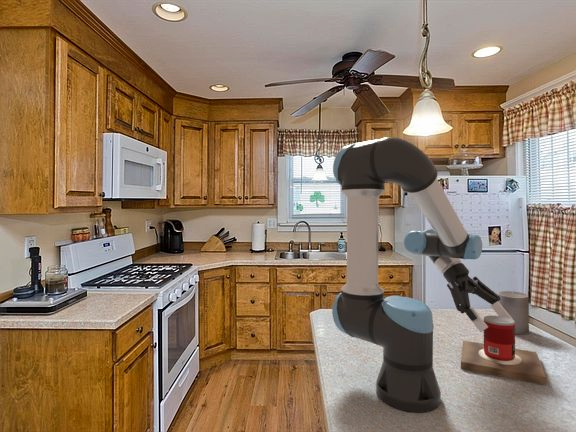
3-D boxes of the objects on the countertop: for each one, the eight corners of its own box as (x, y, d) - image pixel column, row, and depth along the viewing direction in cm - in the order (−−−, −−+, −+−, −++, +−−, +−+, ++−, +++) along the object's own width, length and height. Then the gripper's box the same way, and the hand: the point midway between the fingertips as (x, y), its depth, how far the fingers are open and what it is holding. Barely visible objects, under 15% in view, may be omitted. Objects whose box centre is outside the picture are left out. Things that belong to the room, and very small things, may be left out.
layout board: (460, 368, 100) (460, 360, 100) (463, 346, 115) (463, 339, 115) (546, 384, 90) (546, 376, 90) (536, 358, 106) (536, 351, 106)
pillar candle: (514, 325, 136) (514, 287, 136) (535, 333, 126) (535, 293, 126) (492, 326, 135) (491, 288, 134) (511, 335, 125) (511, 294, 125)
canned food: (519, 362, 98) (519, 324, 98) (489, 360, 100) (488, 322, 100) (508, 351, 106) (508, 315, 105) (480, 349, 107) (479, 314, 107)
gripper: (466, 271, 125) (509, 324, 112) (420, 278, 112) (463, 339, 100) (481, 258, 120) (528, 312, 108) (435, 264, 108) (482, 326, 95)
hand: (497, 325), depth 104 cm, fingers open, 13 cm apart
